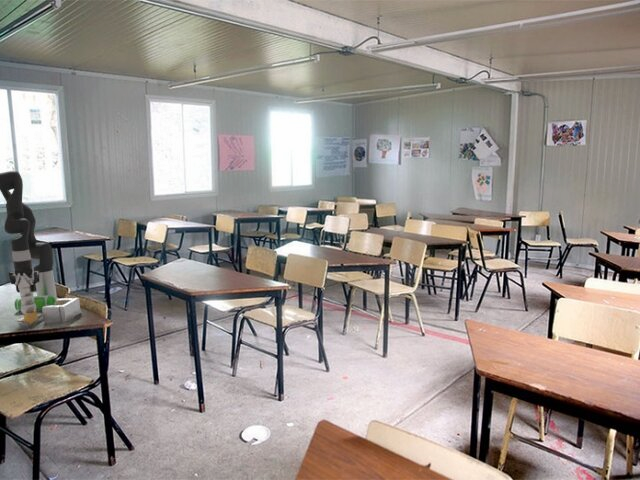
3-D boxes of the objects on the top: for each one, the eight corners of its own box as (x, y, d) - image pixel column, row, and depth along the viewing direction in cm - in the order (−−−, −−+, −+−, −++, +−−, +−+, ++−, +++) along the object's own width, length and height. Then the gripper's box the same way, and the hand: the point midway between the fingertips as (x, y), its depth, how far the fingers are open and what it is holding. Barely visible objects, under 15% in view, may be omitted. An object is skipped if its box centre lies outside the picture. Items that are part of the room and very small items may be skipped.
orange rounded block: (33, 321, 233) (31, 308, 231) (39, 321, 233) (37, 307, 231) (23, 327, 225) (21, 313, 224) (29, 327, 225) (27, 313, 224)
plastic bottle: (19, 313, 239) (14, 275, 236) (34, 310, 244) (29, 272, 240) (23, 316, 235) (18, 276, 231) (39, 312, 239) (33, 274, 236)
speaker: (56, 306, 258) (54, 293, 257) (50, 311, 251) (48, 297, 250) (22, 309, 256) (20, 295, 255) (15, 313, 249) (12, 299, 248)
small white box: (46, 314, 245) (44, 299, 244) (80, 312, 245) (78, 297, 244) (20, 329, 223) (17, 313, 221) (57, 328, 223) (55, 311, 222)
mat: (28, 315, 244) (28, 314, 244) (43, 314, 245) (43, 313, 244) (17, 321, 235) (16, 320, 235) (32, 321, 235) (32, 319, 235)
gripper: (2, 261, 231) (7, 294, 234) (32, 260, 231) (36, 293, 234) (12, 258, 238) (16, 290, 241) (40, 257, 238) (45, 289, 241)
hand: (26, 291), depth 237 cm, fingers closed on plastic bottle, 6 cm apart
